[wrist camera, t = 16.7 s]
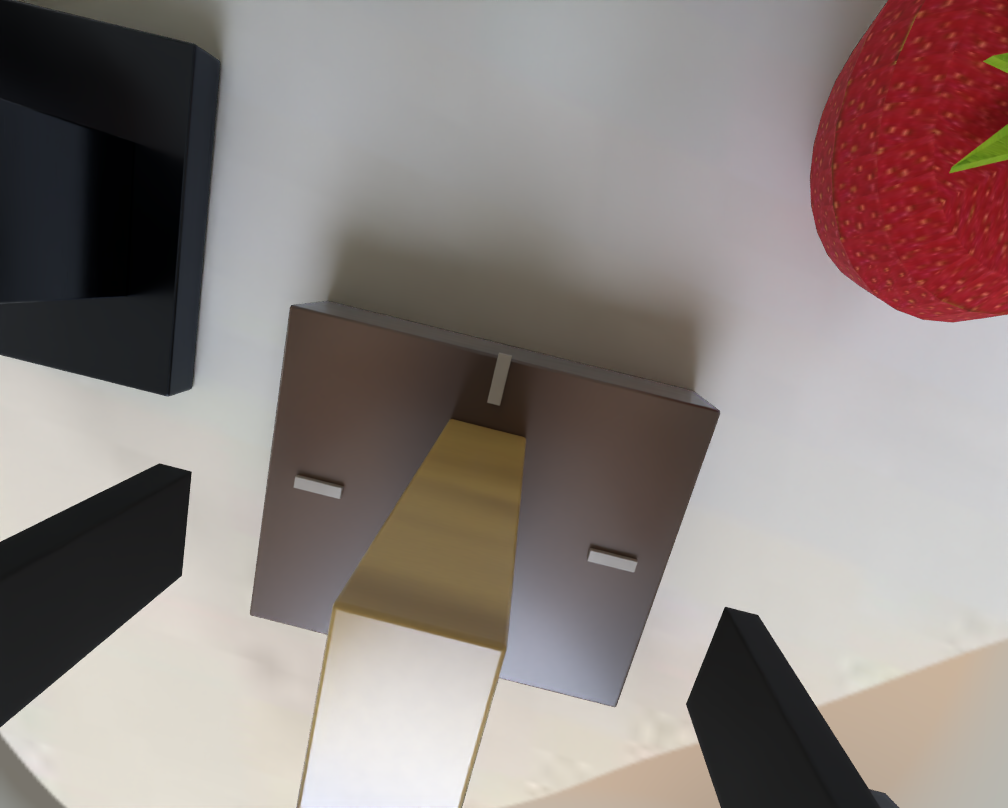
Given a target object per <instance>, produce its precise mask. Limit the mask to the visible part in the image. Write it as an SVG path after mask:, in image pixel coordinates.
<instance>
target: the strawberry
mask: <svg viewBox="0 0 1008 808" xmlns="http://www.w3.org/2000/svg"><path fill="white" fill-rule="evenodd" d="M810 188H811V207H812V211H813V216H814V220H815V225H816V229H817V233H818V235H819V237H820V239H821V241H822V244H823V246H824V248H825V250H826V252H827V255H828V256H829V257H830V258H831V260H832V261H833V262H834V263H835V265H836V266H837V267H838V269H839V270H840V271H841V272H842V273H843V274H844V275H846V276H847V277H848V278H850V279H851V280H852V281H854V282H855V283H856V284H858V285H859V286H861V287H862V288H864V289H865V290H867V291H868V292H870V293H871V294H873V295H874V296H876V297H877V298H879V299H881V300H882V301H884V302H885V303H887V304H888V305H890V306H891V307H893V308H894V309H896V310H899V311H901V312H904V313H907V314H909V315H912V316H915V317H917V318H920V319H923V320H933V321H944V322H959V321H966V320H973V319H981V318H988V317H994V316H1001V315H1007V314H1008V0H888V1H887V3H886V4H885V6H884V7H883V9H882V10H881V11H880V13H879V14H878V16H877V17H876V19H875V20H874V21H873V23H872V24H871V26H870V27H869V29H868V30H867V31H866V33H865V34H864V36H863V37H862V39H861V40H860V41H859V43H858V44H857V46H856V47H855V49H854V50H853V52H852V53H851V55H850V57H849V59H848V60H847V62H846V64H845V66H844V67H843V69H842V71H841V73H840V74H839V76H838V78H837V79H836V81H835V84H834V86H833V88H832V91H831V93H830V96H829V98H828V100H827V103H826V105H825V108H824V110H823V112H822V116H821V120H820V123H819V127H818V131H817V135H816V138H815V142H814V147H813V155H812V164H811V172H810Z"/></svg>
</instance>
